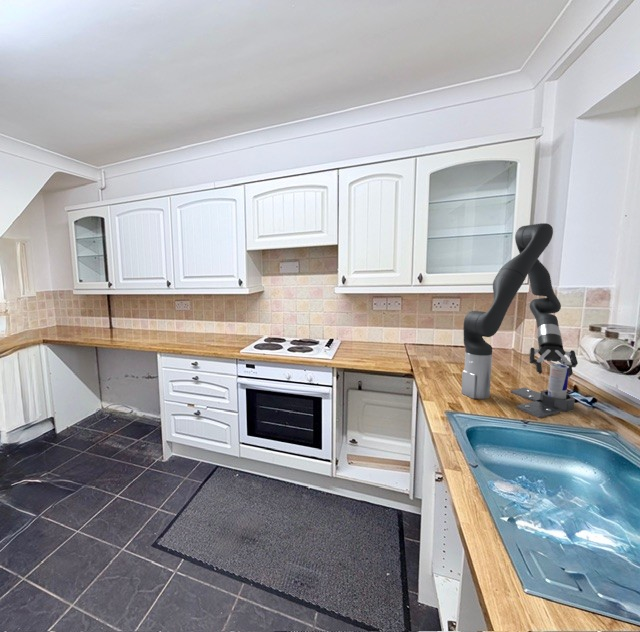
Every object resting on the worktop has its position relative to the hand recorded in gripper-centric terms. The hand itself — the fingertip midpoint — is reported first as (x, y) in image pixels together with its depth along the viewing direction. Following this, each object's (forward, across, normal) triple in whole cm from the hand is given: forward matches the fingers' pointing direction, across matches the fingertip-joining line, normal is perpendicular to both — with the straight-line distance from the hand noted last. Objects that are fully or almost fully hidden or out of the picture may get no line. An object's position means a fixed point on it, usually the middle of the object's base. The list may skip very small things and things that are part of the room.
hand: (554, 374), depth 109 cm
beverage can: (+11, 0, +3) cm, 11 cm away
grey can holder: (+11, -7, +3) cm, 13 cm away
